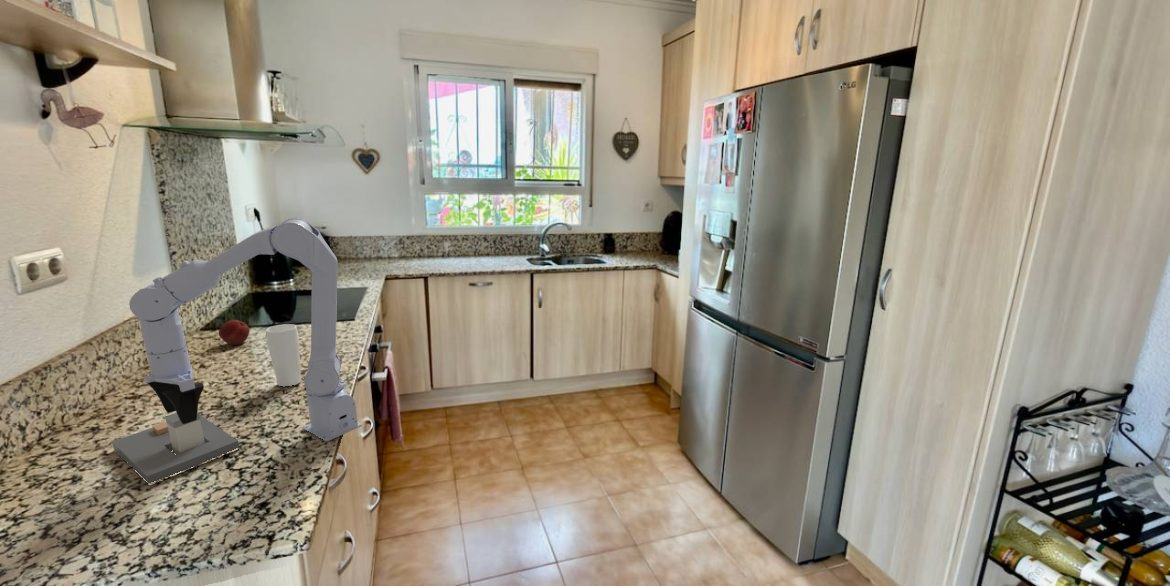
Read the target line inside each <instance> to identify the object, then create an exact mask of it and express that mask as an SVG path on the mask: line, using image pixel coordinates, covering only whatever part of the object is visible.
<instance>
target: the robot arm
mask: <svg viewBox="0 0 1170 586" xmlns="http://www.w3.org/2000/svg"><path fill="white" fill-rule="evenodd" d="M277 252H278V253H280V254H282V255H284V256H285V257H289V258H292V259H294V260H296V261H298V262H300V264H302V265H303V266H304V267H306V268H307V269H309V271H311V304H310V305H311V307H310V308H311V311H310V313H311V315H310V317H311V319H310V320H311V323H310V325H311V327H310V328H311V329H310V332H311V334H310V355H309V356H310V357H309V360H308V362H307V363H308V364H307V371H306V374H305V376H304V380H303V383H304V386H305V388H306V389H305V393H306V400H307V406H308V407H307V408H308V414H309V421H310V422H309V423H308V424H305V425H304V426H302V429H303V428H304V429H305V431H306V430H307V432H308V431H309V432H308V433H310V432H311V433H313V434H315V435H316V436H315V435H314V436H315V437H317V436H318V437H317V438H319V439H320V438H321V440H322V439H323V440H322V441H324V442H330V441H332V440H333V439H336V438H338V437H340V436H341V437H342V436H343V435H345V434H347V433H350V432H351V431H354V430H356V429H359V428H361V427H362V426H363V423H361V422H359V421H358V415H357V408H356V407H357V405H356V402H355V399H354V398H353V397H352V396H351V395H350V394H349V393H348V392H347V390H346V384H345V381H344V380H343V378H342V377H340V374H341V373H340V372H341V368H342V362H341V359H340V358H339V356H338V353H337V314H338V313H337V311H338V310H337V308H338V307H337V306H338V301H337V300H338V258H337V256H336V254H335V253H334V252H333V250H332V249H331V248H330V246H329V245H328V243H327V242H326V241H325V239H324V237H323V235H322V234H321V232H320V230H318V229H317V228H316V227H314V226H313V224H310V223H309V222H308V221H306V220H305V219H303V218H297V217H293V218H291V217H290V218H288V219H286V220H284V221H283V222H282V223H281V224H277V223H276V224H275V225H272V226H270V227H266V228H264V229H262V230H260V231H257V232H255V233H253V234H252V235H249V236H248V237H247V238H245V239H243V240H241V241H240V242H238V243H236V244H234V246H231V247H230V248H229V249H226V250H224V251H223V252H222V253H220V254H218V255H216V256H215V257H212V258H211V259H210V260H200V259H194V260H192V261H189V260H184V261H183V262H181V263H180V264H178V267H179V268H177V269H175V270H174V271H172V272H170V273H168V274H167V275H164V276H158V277H156V278H154V279H152V284H151V283H150V284H149V285H147V286H145V287H143V288H140V289H138V290H137V292H135V293H134V294H133V295H132V296H131V298H130V300H129V304H128V305H129V310H130V311H131V313H132V314H133V315H134V316H135V317H137V318H138V321H139V324H140V331H141V332H140V333H141V335H142V340H143V344H144V348H145V353H146V355H147V356H146V357H147V360H148V365H149V369H150V374H149V375H146V376H143V381H144V382H145V383H146V384H147V385H148V386H149V387H151V389H152V390H153V391H154V393H155V394H156V395H157V397H158V398H159V401H160V403H161V404H162V406H163V409H164V410H165V411H166V412H167V413H168V414H170V413H173V412H175V413H177V415H178V417H179V419H180V421H181V422H182V423H183V424H186V423H189V422H192V421H195V420H197V413H198V410H199V402H200V399H201V398H200V397H201V395H202V392H203V390H204V387H205V385H204V384H203V383H201V382H197V383H195V380H194V377H193V375H194V374H193V373H194V369H193V366H192V365H191V362H190V361H191V360H190V357H189V352H188V348H187V347H188V346H187V342H186V337H185V332H184V328H183V323H182V321H181V320H182V319H181V317H180V312H179V307H180V306H182V305H186V304H188V303H189V302H191V301H193V300H195V299H196V298H198V297H200V296H202V295H203V294H205V293H207V292H208V291H210V290H212V289H213V288H216V287H217V286H219V283H220V277H221V275H223V274H225V273H227V272H229V271H230V270H232V269H234V268H235V267H237V266H240V265H242V264H243V263H245V262H247V261H249V260H251V259H253V258H255V257H256V256H258V255H270V256H271V255H273V256H274V255H275V254H276V253H277ZM304 429H303V430H304ZM311 433H310V434H311ZM313 434H312V435H313Z"/></svg>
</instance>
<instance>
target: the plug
mask: <svg viewBox="0 0 1170 586" xmlns="http://www.w3.org/2000/svg"><path fill="white" fill-rule="evenodd" d="M199 414H200V413H198V412H197V420H195V421H192V422H189V423H186V424H183V423H182V422H181V421H180V419H179V417H178V415H177V412H174V413H172V414H169V415H165V416H164V418H165V423H167V426H168V430H169V435H170V439H171V444H172V448H173V452H174V453H175V454H178V453H181V452H183V451H186V450H189V449H191V448H194V447H197V446H199V445H202V444H205V441H204V436H203V431H202V426H201V422H200V415H201V414H200V415H199ZM173 452H172V453H173ZM174 453H173V454H174Z"/></svg>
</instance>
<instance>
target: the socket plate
mask: <svg viewBox="0 0 1170 586" xmlns="http://www.w3.org/2000/svg"><path fill="white" fill-rule="evenodd" d="M199 415H200V422H201V426H202V431H203V436H204V441H205V444H202V445H199V446H197V447H194V448H191V449H189V450H186V451H183V452H181V453H178V454H176V455H175V454H174V453H173V452H171V451H172V450H173V448H172V444H171V439H170V435H169V430H168V426H167V422H166V421H165V422H164V421H163V422H160V423H158V424H155V425H152V427H150V428H147V429H144V430H141V431H138V432H136V433H132V434H129V435H126V436H124V437H120V438H118V439H115V440H111V443H112V447H113V451H114V450H115V451H116V452H117V453H118V454H119V455H120V456H121V457H122V458H123V459H124V460H125V461H126V462H128V464H129V465H130V466H132V467H133V469H134V470H136V471H137V472H138V473H139V474H140V475H141V476H142V477H143V478H144V479H145V480H146V481H147V482H148V483H151V482H154V481H157V480H159V479H162V478H165V477H168V476H170V475H173V474H175V473H178V472H180V471H183V470H186V469H188V468H191V467H193V466H195V465H198V464H200V463H202V462H205V461H207V460H210V459H212V458H215V457H217V456H220V455H222V454H225V453H227V452H229V451H232V450H234V449H236V448H240V443H239V440H237V439H236V438H235V437H233V435H230V434H229V433H228V432H226V431H224V429H222V428H220V427H219V426H217V425H215V424H214V422H212V421H210V420H208V419H206V418H205V417H204V416H203V415H201V414H200V413H199ZM115 451H114V452H115ZM116 452H115V453H116ZM117 453H116V454H117ZM118 454H117V455H118ZM119 455H118V456H119ZM120 456H119V457H120ZM121 457H120V458H121ZM122 458H121V459H122ZM123 459H122V460H123ZM124 460H123V461H124ZM125 461H124V462H125ZM126 462H125V463H126ZM128 464H127V465H128ZM129 465H128V466H129ZM130 466H129V467H130ZM133 469H132V470H133ZM134 470H133V471H134Z"/></svg>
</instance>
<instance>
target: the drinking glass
mask: <svg viewBox="0 0 1170 586" xmlns="http://www.w3.org/2000/svg"><path fill="white" fill-rule="evenodd" d="M265 335H266V336H265V338H266V344H267V349H268V351H269V352H268V353H269V355H270V356H269V357H270V359H271V363H272V367H273V370H274V374H275V378H276V383H277V386H279V387H280V386H283V387H282V388H286V387H285V386H290V387H293V386H292V385H294V386H296V385H299V384H300V383H301V382H302V374H301V373H302V372H301V359H300V357H301V356H300V354H301V353H300V339H299V333H298V328H297V325H295V324H294V323H293V324H292V323H291V324H290V323H285V324H279V325H273V326H269V327H267V328H266V329H265Z"/></svg>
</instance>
